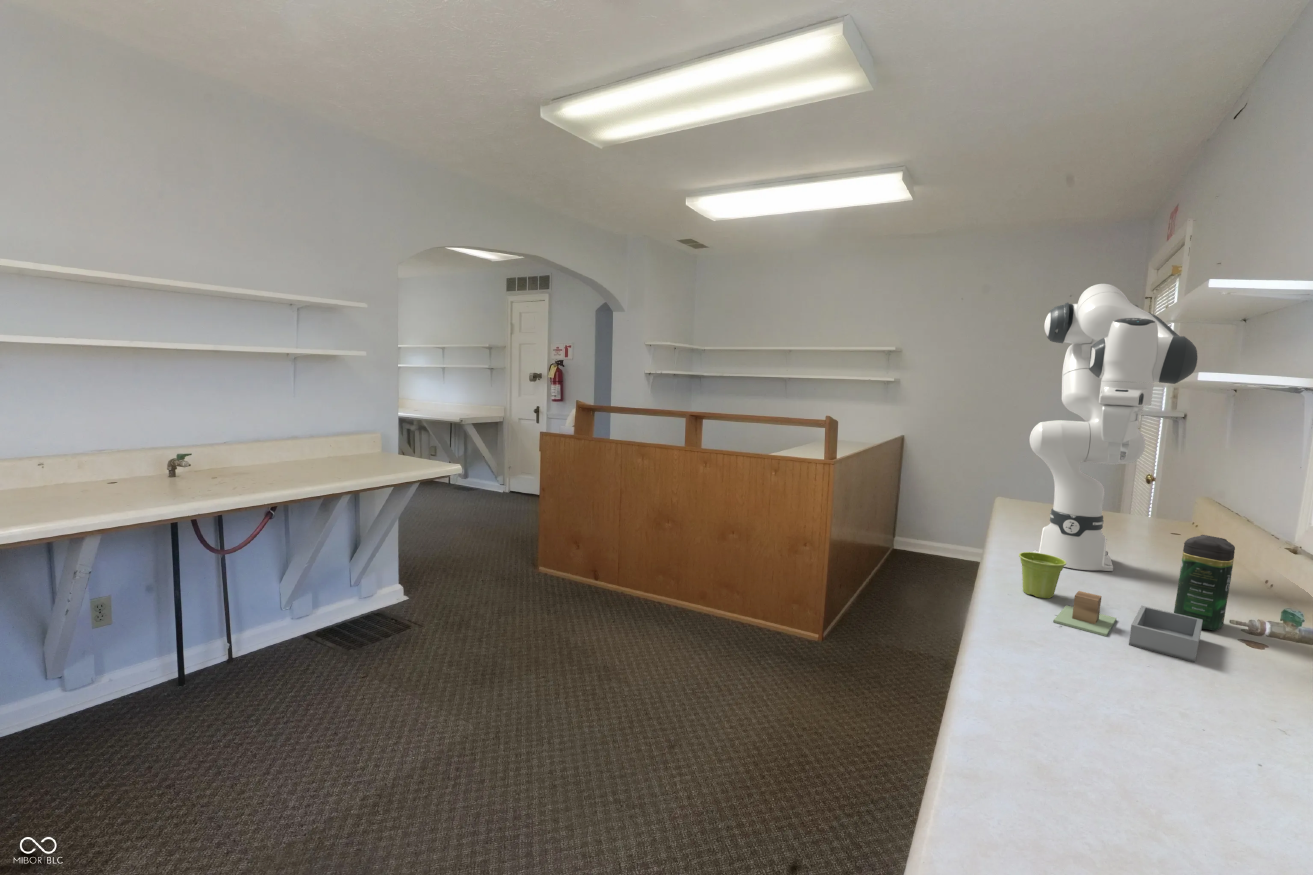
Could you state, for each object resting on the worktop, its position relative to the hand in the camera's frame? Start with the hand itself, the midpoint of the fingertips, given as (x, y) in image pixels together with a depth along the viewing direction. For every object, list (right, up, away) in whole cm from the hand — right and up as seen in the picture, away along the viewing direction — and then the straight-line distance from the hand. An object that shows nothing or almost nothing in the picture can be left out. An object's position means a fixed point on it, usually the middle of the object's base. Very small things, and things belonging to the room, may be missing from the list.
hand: (1117, 461), depth 131 cm
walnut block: (-8, -33, -2) cm, 34 cm away
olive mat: (-8, -33, -2) cm, 34 cm away
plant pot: (-8, -32, +13) cm, 36 cm away
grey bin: (+1, -35, -11) cm, 36 cm away
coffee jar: (+17, -34, -1) cm, 38 cm away
